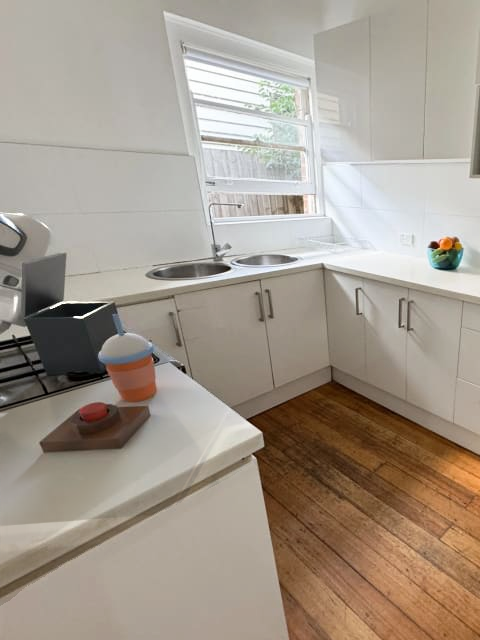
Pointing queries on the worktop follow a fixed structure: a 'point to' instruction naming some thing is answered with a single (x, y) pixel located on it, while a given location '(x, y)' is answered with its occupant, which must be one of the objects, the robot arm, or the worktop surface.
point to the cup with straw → (129, 364)
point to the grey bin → (72, 336)
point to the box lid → (42, 283)
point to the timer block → (96, 430)
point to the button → (93, 411)
